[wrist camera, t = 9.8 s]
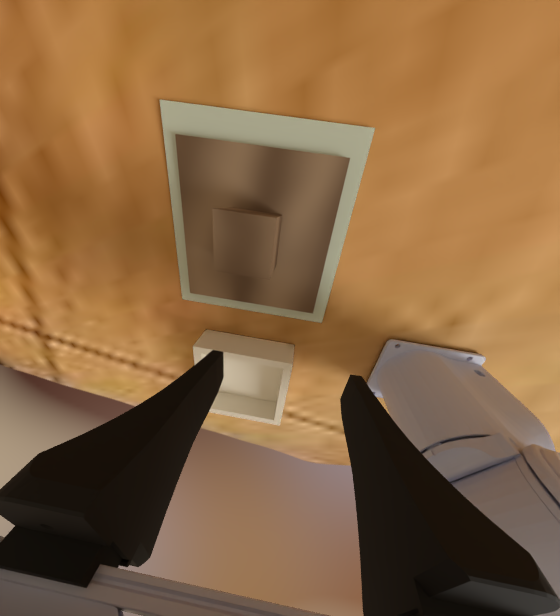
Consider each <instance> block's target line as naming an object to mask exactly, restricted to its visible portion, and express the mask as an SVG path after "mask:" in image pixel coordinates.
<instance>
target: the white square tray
mask: <svg viewBox="0 0 560 616" xmlns="http://www.w3.org/2000/svg"><path fill="white" fill-rule="evenodd" d="M212 350H216V351H222V352H223V356H224V378H223V381H222V383H221V386H220V389H219V391H218V394H217V396H216V398H215V400H214V402H213V404H212V406H211V408H210V410H209V412H211V413H217V414H222V415H227V416H232V417H237V418H243V419H248V420H253V421H258V422H264V423H269V424H274V425H279V426H280V422H281V417H282V413H283V408H284V404H285V399H286V394H287V390H288V385H289V380H290V376H291V371H292V367H293V358H294V345H293V344H287V343H281V342H276V341H270V340H264V339H259V338H253V337H247V336H241V335H236V334H230V333H224V332H219V331H213V330H207V329H206V330H205V331H204V333H203V334H202V335H201V336H200V338H199V339H198V340H197V341H196V343H195V344H194V345H193V354H194V364H197V363H198V362H199V361H200V360H201V359H203V358H204V357H205V356H206V355H207V354H208V353H210V352H211V351H212Z"/></svg>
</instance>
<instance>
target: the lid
mask: <svg viewBox="0 0 560 616" xmlns="http://www.w3.org/2000/svg"><path fill="white" fill-rule="evenodd" d="M175 138H176V149H177V160H178V170H179V181H180V192H181V202H182V213H183V224H184V234H185V245H186V256H187V266H188V277H189V288H190V293H193V294H199V295H205V296H211V297H217V298H223V299H229V300H235V301H241V302H247V303H253V304H259V305H265V306H271V307H277V308H283V309H289V310H295V311H301V312H306V313H312V314H313V311H314V307H315V303H316V299H317V294H318V290H319V286H320V282H321V278H322V274H323V269H324V265H325V261H326V257H327V253H328V249H329V244H330V240H331V236H332V232H333V228H334V224H335V219H336V215H337V211H338V207H339V203H340V199H341V194H342V190H343V186H344V182H345V178H346V174H347V169H348V165H349V161H350V158H347V157H340V156H333V155H326V154H318V153H311V152H304V151H296V150H289V149H282V148H274V147H267V146H260V145H253V144H245V143H238V142H231V141H223V140H216V139H209V138H202V137H194V136H187V135H180V134H175Z"/></svg>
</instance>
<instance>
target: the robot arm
mask: <svg viewBox="0 0 560 616" xmlns="http://www.w3.org/2000/svg"><path fill="white" fill-rule="evenodd" d="M397 344H399V345H397ZM395 345H397V346H395ZM485 360H486V358H485V357H484V356H483V355H481V354H476V353H471V352H465V351H459V350H453V349H447V348H441V347H436V346H430V345H424V344H418V343H412V342H406V341H400V340H395V339H390V340H388V341H387V342H386V344H385V346H384V348H383V350H382V352H381V354H380V357H379V359H378V361H377V363H376V365H375V367H374V369H373V371H372V373H371V375H370V377H369V379H368V381H367V383H366V382H365V381H364V379H363V378H362V376H356V375H350V377H349V379H348V382H347V384H346V387H345V389H344V391H343V394H342V396H341V399H340V401H341V414H342V421H343V427H344V432H345V437H346V442H347V447H348V452H349V457H350V462H351V467H352V474H353V482H354V491H355V500H356V511H357V521H358V532H359V547H360V560H361V579H362V600H363V614H364V616H560V453H558V452H556V451H555V447H554V444H553V441H552V439H551V437H550V435H549V433H548V431H547V430H546V428H545V427H544V425H543V424H542V423H541V421H540V420H539V419H538V418H537V417H536V416H535V415H534V414H533V413H532V412H531V411H530V410H529V409H528V408H526V407H525V406H524V405H523V404H522V403H521V402H520V401H519V400H518V399H517V398H516V397H515V396H513V395H512V394H511V393H510V392H509V391H508V390H507V389H506V388H505V387H504V386H503V385H502V384H500V383H499V382H498V381H497V380H496V379H495V378H494V377H493V376H492V375H491V374H490V373H489V372H487V371H486V370H485V369H484V368H483V367H482V366H481V365H482V364H483V363H484V361H485ZM223 378H224V356H223V352H222V351H216V350H212V351H211V352H210V353H208V354H207V355H206V356H205V357H204V358H203V359H201V360H200V361H199V362H198V363H197V364H195V365H194V366H193V367H192V368H191V369H189V370H188V371H187V372H186V373H184V374H183V375H182V376H180V377H179V378H178V379H176V380H175V381H174V382H172V383H171V384H170V385H168V386H167V387H166V388H164V389H163V390H161V391H160V392H158V393H157V394H155V395H154V396H152V397H151V398H149V399H147V400H146V401H144V402H143V403H141V404H139V405H137V406H136V407H134V408H132V409H131V410H129V411H127V412H125V413H124V414H122V415H120V416H118V417H116V418H114V419H112V420H111V421H109V422H107V423H105V424H103V425H101V426H99V427H97V428H95V429H93V430H91V431H88V432H86V433H84V434H82V435H80V436H78V437H76V438H73V439H71V440H69V441H67V442H64V443H62V444H60V445H57V446H55V447H53V448H51V449H48V450H46V451H43V452H41V453H39V454H38V455H37V456H36V457H35V458H33V460H31V461H30V462H29V463H28V464H27V465H26V466H25V467H24V468H23V469H21V471H19V472H18V473H17V474H16V475H15V476H14V477H13V478H12V479H11V480H10V481H9V482H8V483H7V484H6V485H5V486H3V487H2V488H1V489H0V515H1V516H2V517H4V518H5V519H7V520H8V521H10V522H11V523H12V524H14V525H15V527H14V528H13V529H12V530H11V531H10V532H9V534H8V535H7V536H6V537H5V538H4V537H2V536H0V616H124V615H123V612H122V611H125V612H130V613H134V614H138V615H143V616H329V615H324V614H320V613H315V612H310V611H306V610H302V609H297V608H293V607H288V606H284V605H279V604H275V603H271V602H266V601H262V600H257V599H252V598H248V597H244V596H239V595H235V594H230V593H226V592H222V591H217V590H213V589H208V588H203V587H199V586H195V585H190V584H186V583H181V582H177V581H172V580H168V579H164V578H159V577H155V576H150V575H146V574H141V573H137V572H132V571H128V570H124V569H119V568H118V566H119V565H120V566H125V567H128V566H129V565H132V566H136V567H139V566H141V565H142V564H143V563H145V562H146V561H147V560H148V559H149V558H150V556H151V554H152V550H153V548H154V545H155V542H156V539H157V536H158V534H159V531H160V528H161V525H162V522H163V519H164V517H165V514H166V511H167V508H168V506H169V503H170V500H171V498H172V495H173V492H174V490H175V487H176V484H177V482H178V479H179V477H180V474H181V472H182V469H183V467H184V464H185V462H186V459H187V457H188V454H189V451H190V449H191V447H192V444H193V442H194V440H195V438H196V436H197V434H198V432H199V430H200V428H201V426H202V424H203V422H204V420H205V418H206V416H207V414H208V412H209V410H210V408H211V406H212V404H213V402H214V400H215V398H216V396H217V394H218V391H219V389H220V386H221V383H222V381H223ZM376 397H380V398H383V399H384V401H385V404H386V406H387V409H388V411H389V414H390V415H389V414H388V413H387V411H386V410H385V409H384V407H383V406H382V405H381V403H380V402H379V401H378V399H377V398H376ZM390 416H391V417H390Z"/></svg>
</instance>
